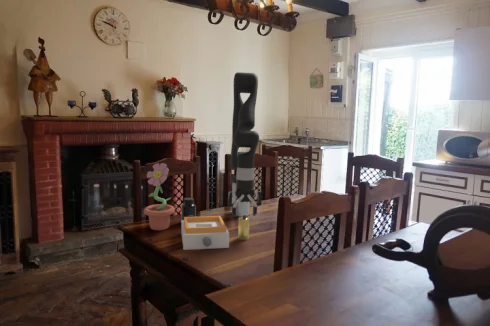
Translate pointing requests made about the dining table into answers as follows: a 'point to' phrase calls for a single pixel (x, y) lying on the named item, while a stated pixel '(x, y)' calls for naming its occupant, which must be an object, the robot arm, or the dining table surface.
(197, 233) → the white box with knob
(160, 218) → the decorative flower
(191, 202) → the supplement bottle
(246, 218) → the oil can
